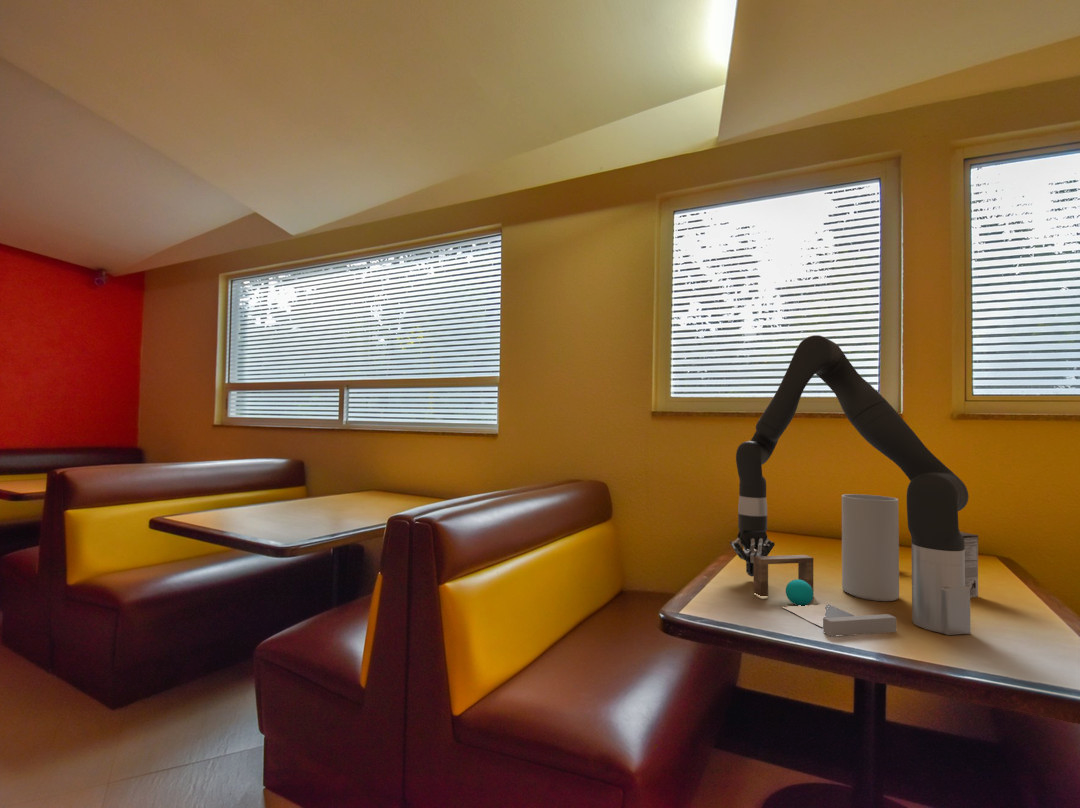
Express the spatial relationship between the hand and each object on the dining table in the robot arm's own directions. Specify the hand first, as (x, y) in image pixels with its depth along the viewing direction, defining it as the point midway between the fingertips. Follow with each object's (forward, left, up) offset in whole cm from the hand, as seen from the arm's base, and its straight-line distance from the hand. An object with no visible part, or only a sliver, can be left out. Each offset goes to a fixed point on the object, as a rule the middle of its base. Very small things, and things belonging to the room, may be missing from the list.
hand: (752, 575), depth 145 cm
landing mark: (-27, 0, -2) cm, 27 cm away
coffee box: (-17, -48, -2) cm, 51 cm away
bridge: (-13, 0, -2) cm, 13 cm away
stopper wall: (-37, 0, -2) cm, 37 cm away
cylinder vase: (-15, -24, -2) cm, 28 cm away
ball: (-20, +1, +2) cm, 20 cm away
